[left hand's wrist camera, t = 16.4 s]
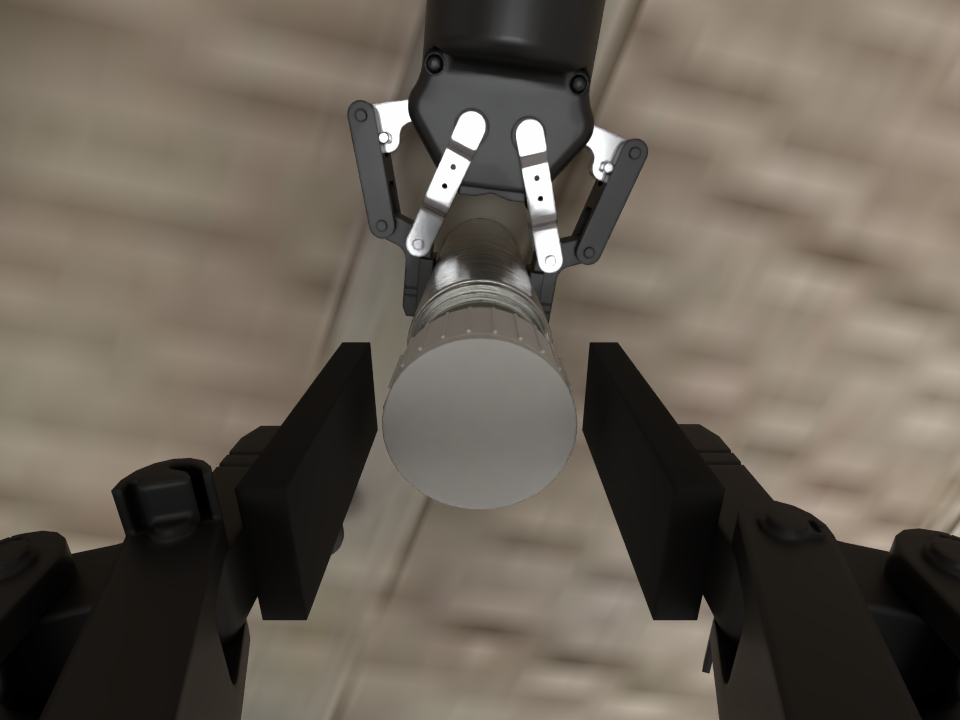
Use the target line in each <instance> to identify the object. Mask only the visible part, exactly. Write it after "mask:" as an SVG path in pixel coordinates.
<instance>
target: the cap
mask: <svg viewBox="0 0 960 720" xmlns="http://www.w3.org/2000/svg"><path fill="white" fill-rule="evenodd" d="M388 387H390V391H389V393H388V396H387V398H386V401H385V403H384V406H383V409H384V411H383V417H382V429H383V437H384V442H385V445H386V449H387V451H388V453H389V456H390V458H391V460H392V462H393V463H394V465H395V467H396V468H397V470H398V471H399V472H400V473H401V475H402V476H403V477H404V478H405V479H406V480H407V481H408V482H409V483H410V484H411V485H412V486H413V487H415V488H416V489H417V490H419V491H420V492H421V493H423V494H425V495H427V496H428V497H430V498H432V499H434V500H436V501H439V502H441V503H444V504H447V505H450V506H454V507H459V508H465V509H476V510H480V509H494V508H501V507H505V506H509V505H513V504H515V503H518V502H521V501H523V500H525V499H527V498H529V497H531V496H533V495H535V494H536V493H538V492H539V491H541V490H542V489H544V488H545V487H546V486H547V485H548V484H549V483H551V482H552V481H553V480H554V479H555V477H556V476H557V475H558V474H559V473H560V472H561V470H562V469H563V467H564V466H565V464H566V462H567V460H568V458H569V457H570V455H571V452H572V449H573V446H574V443H575V438H576V433H577V416H576V408H575V405H574V401H573V398H572V395H571V393H570V391H572V388H571V385H570V383H569V380H568V378H567V375H566V373H565V370H564V367H563V365H562V362H561V360H560V358H559V359H558V358H557V356H556V353H555V350H554V348H553V345H552V343H551V341H550V340H549V341H548V340H547V339H546V338H545V337H544V335H543V334H542V333H541V332H540V331H539V330H538V329H537V326H536V325H535V324H534V325H532V324H530V323H529V322H527V321H526V320H524V319H522V318H520V317H518V315H517V314H516V313H514V314H511V313H509V312H506V311H502V310H497V309H495V307H492V308H472V307H468V309H462V310H457V311H454V312H451V313H449V312H446V315H443V316H441V317H439V318H437V319H435V320H434V321H432V322H431V323H429V322H428V323H426V325H425V327H424V328H423V329H422V330H421V331H420V332H419V333H418V334H417V335H416V336H415V337H414V338H413V337H412V338H411V339H410V341H409V344H408V347H407V349H406V351H405V353H404V355H403V356H402V355H401V356H400V358H399V361H398V363H397V366H396V368H395V371H394V373H393V376H392V378H391V381H390V384H389V386H388Z"/></svg>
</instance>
